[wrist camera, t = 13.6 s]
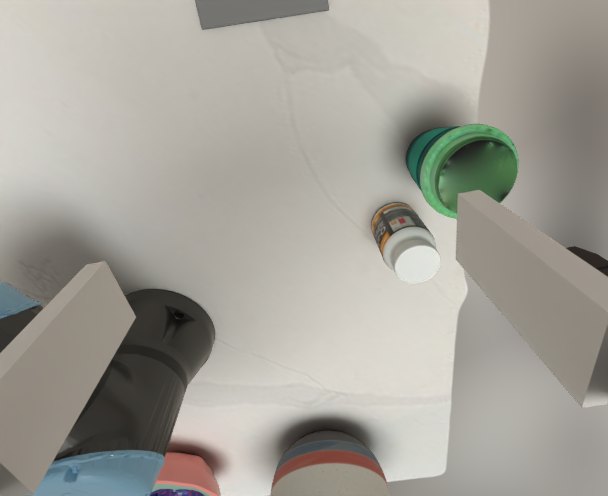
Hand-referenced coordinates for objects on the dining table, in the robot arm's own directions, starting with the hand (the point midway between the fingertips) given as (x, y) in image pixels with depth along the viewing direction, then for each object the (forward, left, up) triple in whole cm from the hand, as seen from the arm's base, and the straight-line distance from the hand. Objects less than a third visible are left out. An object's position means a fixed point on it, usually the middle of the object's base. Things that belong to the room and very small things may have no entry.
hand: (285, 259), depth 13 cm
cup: (+15, -4, -28) cm, 32 cm away
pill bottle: (+11, -13, -28) cm, 33 cm away
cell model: (-31, -60, -28) cm, 74 cm away
